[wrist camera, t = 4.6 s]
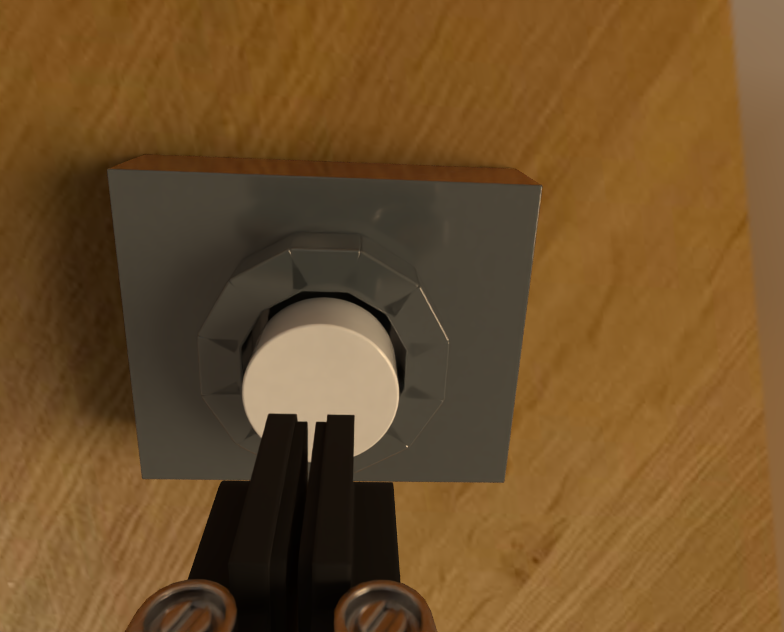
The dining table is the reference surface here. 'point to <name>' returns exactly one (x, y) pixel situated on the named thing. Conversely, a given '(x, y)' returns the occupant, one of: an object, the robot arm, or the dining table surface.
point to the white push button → (324, 370)
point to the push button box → (316, 280)
